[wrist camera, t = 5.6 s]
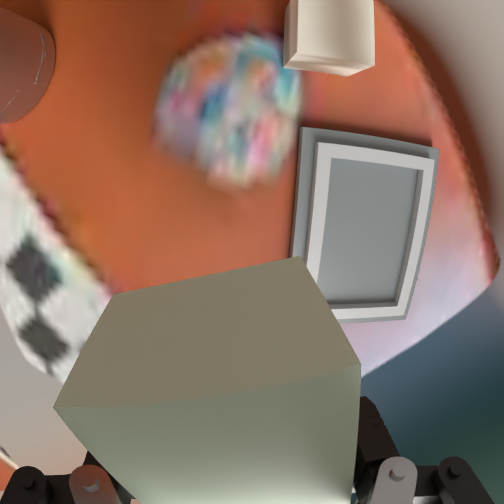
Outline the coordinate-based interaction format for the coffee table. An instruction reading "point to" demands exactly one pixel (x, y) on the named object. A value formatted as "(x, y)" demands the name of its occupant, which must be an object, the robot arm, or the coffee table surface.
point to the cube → (329, 36)
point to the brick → (220, 391)
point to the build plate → (362, 220)
